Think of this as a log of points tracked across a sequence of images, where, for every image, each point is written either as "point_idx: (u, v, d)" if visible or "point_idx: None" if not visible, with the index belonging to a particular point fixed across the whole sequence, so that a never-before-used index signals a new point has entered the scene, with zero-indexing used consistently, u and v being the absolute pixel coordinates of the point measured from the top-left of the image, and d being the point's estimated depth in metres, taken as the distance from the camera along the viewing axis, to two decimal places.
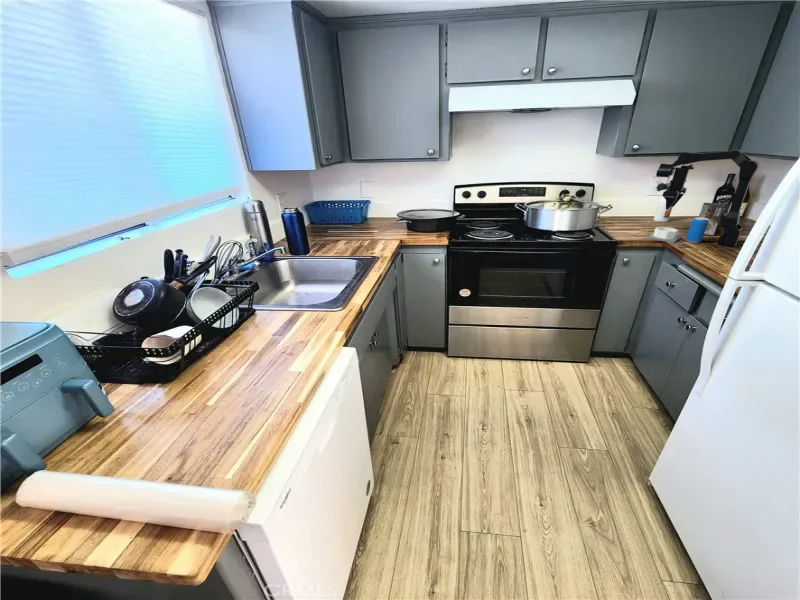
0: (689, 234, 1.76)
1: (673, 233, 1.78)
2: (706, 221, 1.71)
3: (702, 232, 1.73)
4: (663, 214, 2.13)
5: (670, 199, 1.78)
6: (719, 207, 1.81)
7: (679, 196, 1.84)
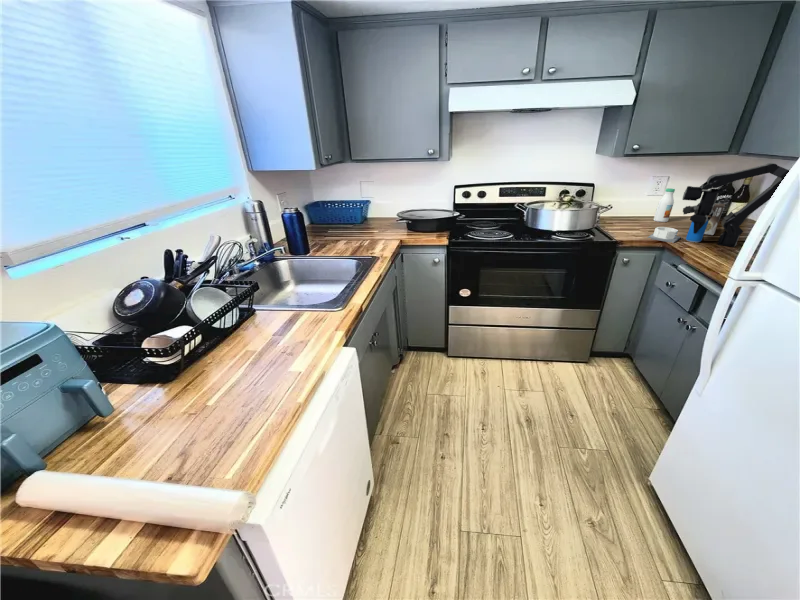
0: (689, 234, 1.76)
1: (673, 233, 1.78)
2: None
3: (702, 232, 1.73)
4: (663, 214, 2.13)
5: (698, 223, 1.71)
6: (719, 207, 1.81)
7: None
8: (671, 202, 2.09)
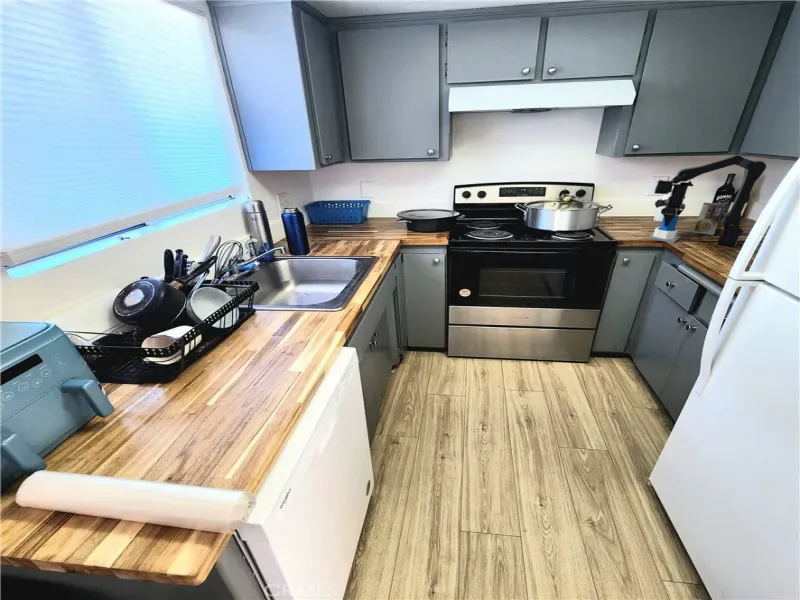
0: (661, 229, 1.82)
1: (673, 233, 1.78)
2: (676, 217, 1.76)
3: (673, 227, 1.78)
4: None
5: (669, 216, 1.75)
6: (719, 207, 1.81)
7: (678, 212, 1.80)
8: None
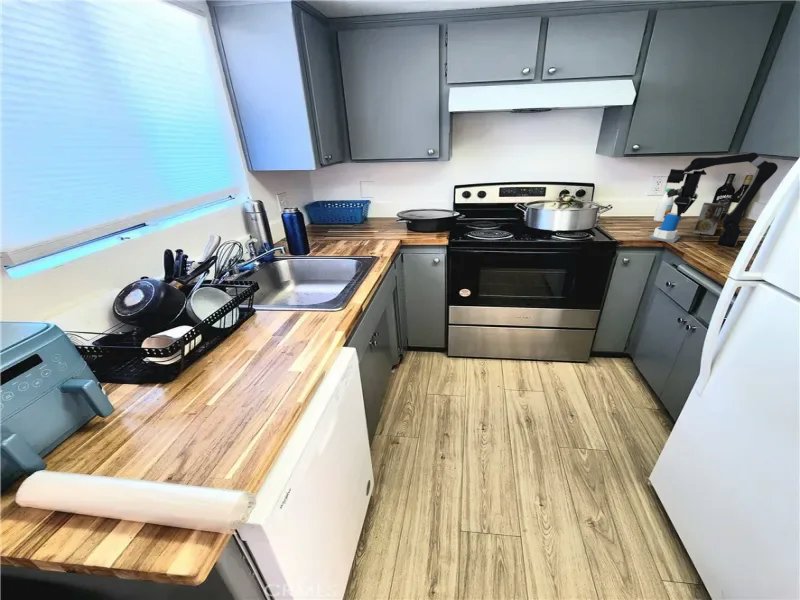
0: (662, 228, 1.82)
1: (673, 233, 1.78)
2: (678, 216, 1.76)
3: (674, 227, 1.78)
4: (663, 214, 2.13)
5: (682, 205, 1.72)
6: (719, 207, 1.81)
7: (690, 202, 1.77)
8: (671, 202, 2.09)
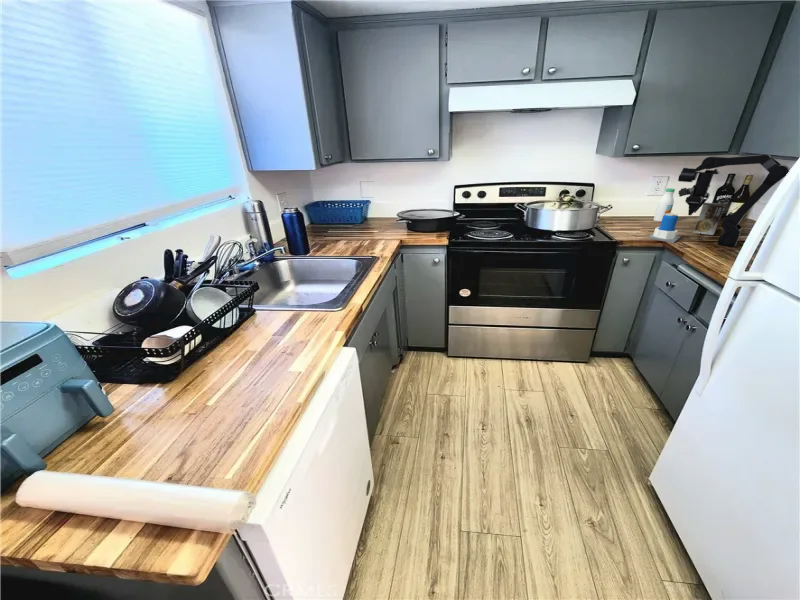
0: (660, 229, 1.82)
1: (673, 233, 1.78)
2: (675, 217, 1.76)
3: (672, 227, 1.78)
4: (663, 214, 2.13)
5: (693, 205, 1.72)
6: (719, 207, 1.81)
7: (702, 201, 1.77)
8: (671, 202, 2.09)
